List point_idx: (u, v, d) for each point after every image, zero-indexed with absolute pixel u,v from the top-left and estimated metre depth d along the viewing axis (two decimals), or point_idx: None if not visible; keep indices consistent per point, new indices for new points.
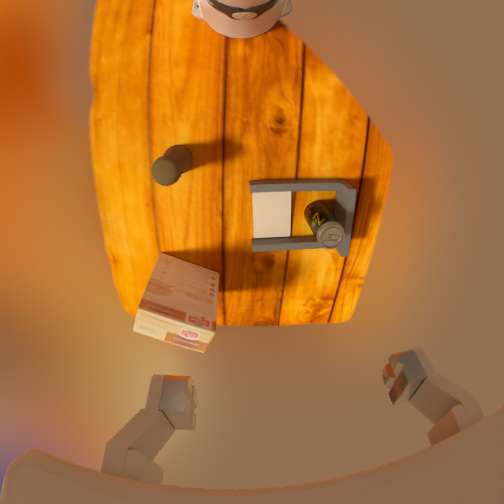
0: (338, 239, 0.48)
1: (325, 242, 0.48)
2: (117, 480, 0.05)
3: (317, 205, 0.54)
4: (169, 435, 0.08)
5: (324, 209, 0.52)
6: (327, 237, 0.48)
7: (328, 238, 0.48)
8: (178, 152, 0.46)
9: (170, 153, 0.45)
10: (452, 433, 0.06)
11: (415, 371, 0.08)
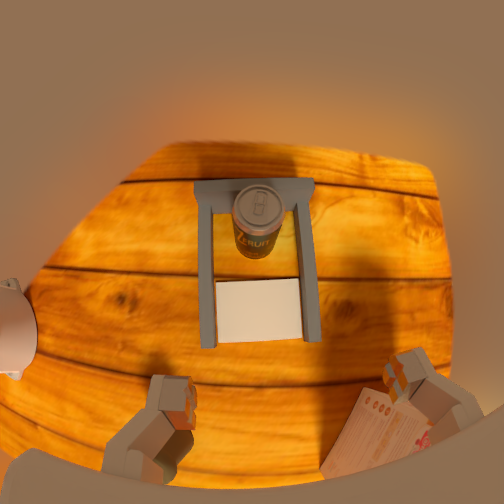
0: (264, 194, 0.27)
1: (270, 217, 0.26)
2: (117, 480, 0.05)
3: (235, 238, 0.35)
4: (169, 435, 0.08)
5: None
6: (260, 214, 0.27)
7: (261, 212, 0.27)
8: None
9: None
10: (452, 433, 0.06)
11: (415, 371, 0.08)
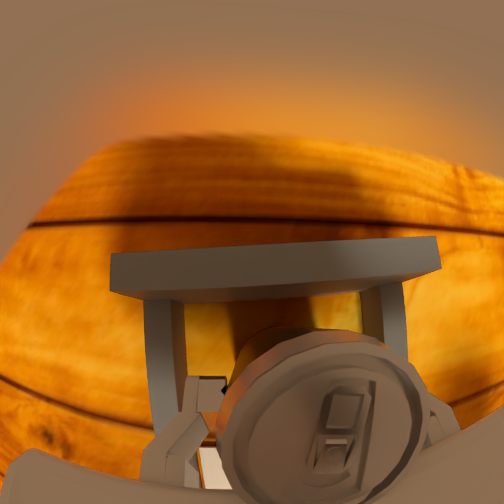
0: (361, 387, 0.05)
1: (375, 475, 0.04)
2: (117, 480, 0.05)
3: None
4: (204, 437, 0.08)
5: None
6: (337, 470, 0.04)
7: (343, 460, 0.05)
8: None
9: None
10: (424, 446, 0.06)
11: None
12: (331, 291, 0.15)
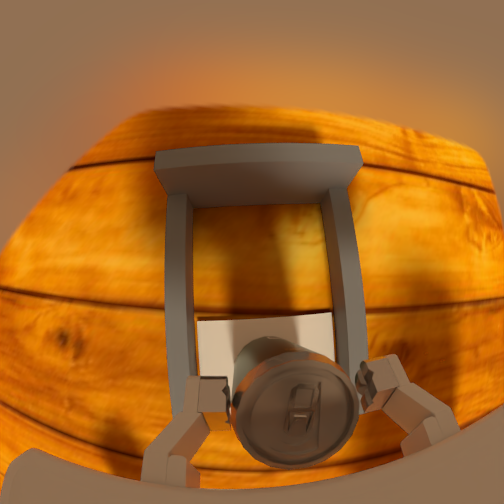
0: (313, 384, 0.09)
1: (326, 438, 0.09)
2: (117, 480, 0.05)
3: None
4: (204, 437, 0.08)
5: None
6: (302, 434, 0.09)
7: (305, 428, 0.09)
8: None
9: None
10: (423, 447, 0.06)
11: (386, 379, 0.08)
12: (295, 193, 0.23)
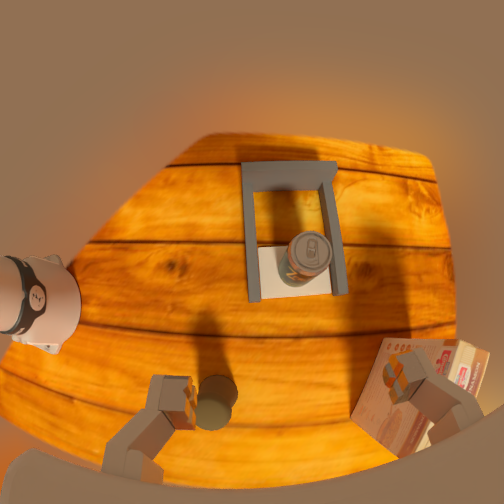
0: (314, 239, 0.31)
1: (321, 260, 0.31)
2: (117, 480, 0.05)
3: (280, 271, 0.39)
4: (169, 435, 0.08)
5: (281, 263, 0.37)
6: (313, 258, 0.31)
7: (313, 256, 0.31)
8: (199, 392, 0.34)
9: None
10: (452, 433, 0.06)
11: (415, 371, 0.08)
12: (305, 184, 0.44)
